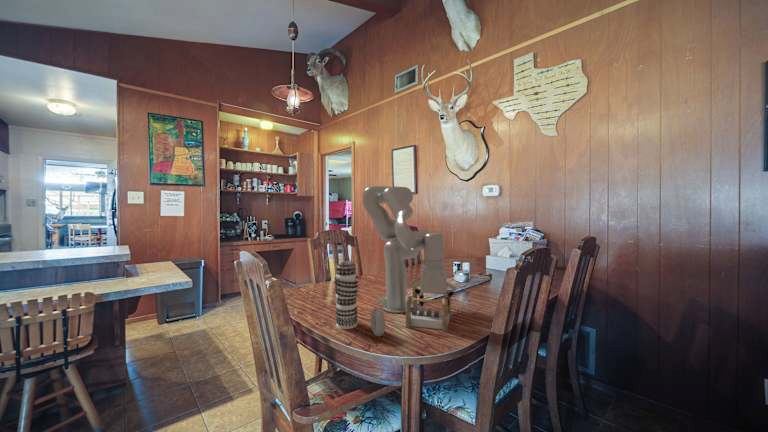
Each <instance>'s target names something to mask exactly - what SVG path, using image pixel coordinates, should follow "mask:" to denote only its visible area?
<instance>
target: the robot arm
mask: <svg viewBox="0 0 768 432" xmlns="http://www.w3.org/2000/svg"><path fill="white" fill-rule="evenodd" d="M413 199H414V195H413V192H412V191H411V189H410V188H409V187H406V186H383V185H381V186H380V185H371V186H369V187H366V188H365V189H364V191H363V193H362V199H361V200H362V204H363V208H364V209H365V212H366V213H367V215H368V216H369V217H370V220H371V221H372V223H373V225H374V227H375V230H376V232H377V234H378V237H379V238H380V239H381V240H382V241H387V242H385V244H384V246H383V256H384V263H385V297H377V303H379V304H383V305H382V309H383V311H385V312H388V313H392V314H393V313H394V314H395V313H396V314H400V313H401V314H402V313H406V296H408V285H407V284H408V281H407V280H408V272H407V270H408V269H407V267H406V266H407V265H405V262H404V260H408V259H414V258H416V257H417V256H418V255H419V253H420V250H424V258H423V259H422V260H420V264H422V265H423V266H422V268H421V274H420V280H418V281H417V282H415V283H413V284H412V289H413V288H414V290H415V292H416V293H417V297H418V299H425V295H424V294H432V295H433V294H434V295H443V296H444V297H445V298H444V299H448V306H449V298H450V297H451V298H452V296H454V294H455V292H456V290H457V286H455V285H454V284H451V283H450V282H449V281H448V276H447V269H446V267H445V265H444V264H445V263H444V258H445V256H444V255H445V254H444V250H445V249H444V248H445V247H444V245H445V242H444V234H443V233H441V232H432V231H427V230H417V231H412V229H411V227H410V226H409V224H408V222H406V221H407V220H409V219H410V218H411V217H412V216H413V213H414V210H413V208H412V206H411V205H410V204H411V203H412V201H413ZM381 204H386V206H387V207H388V208H389V209H390V212H391V213H392V215H393V217H394V218H395V219H392V218H391V216H390V214H389V212H388V211H387V209H386V208H384V207H383V206H382V205H381ZM418 286H420V288H418ZM448 288H450V290H451V292H450V293H448V292H447V290H448ZM419 289H421V291H420V290H419ZM418 303H419V304H420V307H421V308H422V307H424V305H425V304H424V303H425V302H421V301H418Z"/></svg>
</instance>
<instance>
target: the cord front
mask: <svg viewBox="0 0 768 432" xmlns="http://www.w3.org/2000/svg"><path fill="white" fill-rule="evenodd" d="M410 300H411V302H413V301H417V302H419V301H421V302H424V303H435V304H442V303H443V302H442V300H441V299H428V298H427V299H426V298H424V299H419V297H417V298H413V297H411V299H410Z"/></svg>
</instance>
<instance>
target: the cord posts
mask: <svg viewBox="0 0 768 432" xmlns="http://www.w3.org/2000/svg"><path fill="white" fill-rule="evenodd" d="M451 291H452V289H447V292H448V293H450V292H451ZM411 298H418V294H417V293H416V292H415V290H414V288H413V287H412V296H411V295H407V296H406V312H405V328H406V329H411V328H412V326H411V312H412V309H413V308H414V309H417V310H418V301H411V300H410V299H411ZM441 301H442V302H443V303H441V305H442V307H441V309H442V311H441V312H442V329H441V331H442V332H443V333H448V331H449V324H448V313H449V321H450V320H451V319H452V296H451V297H450V298H449V306H448V299H445V298H442V300H441Z"/></svg>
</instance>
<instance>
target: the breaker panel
mask: <svg viewBox="0 0 768 432" xmlns="http://www.w3.org/2000/svg"><path fill="white" fill-rule="evenodd" d="M449 322H450V320H449V313H448V325H449ZM411 327H419V328H428V329H433V330H434V329H435V330H442V311H441V312H440V310H436V309H435V311H432V309H427V310H425V308H424V309H423V308H420V309H418V308H417V309H414V308H413V307H412V308H411Z"/></svg>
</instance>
